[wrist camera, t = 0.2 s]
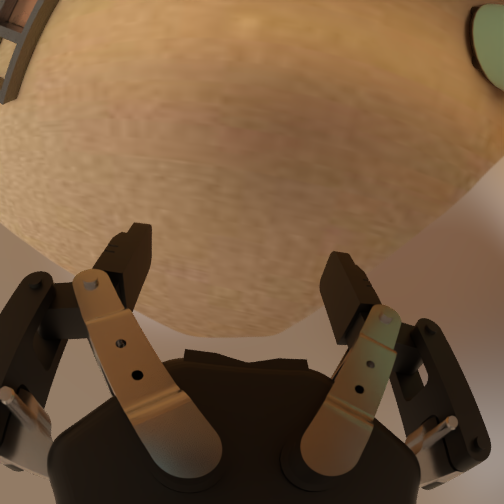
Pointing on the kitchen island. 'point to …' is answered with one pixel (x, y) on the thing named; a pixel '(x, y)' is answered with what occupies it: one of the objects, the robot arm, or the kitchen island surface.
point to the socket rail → (21, 38)
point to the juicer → (488, 42)
